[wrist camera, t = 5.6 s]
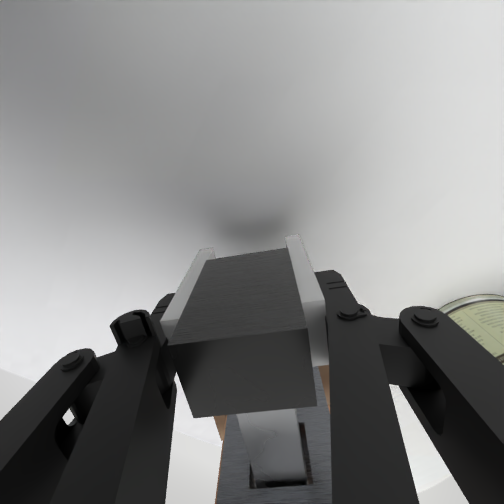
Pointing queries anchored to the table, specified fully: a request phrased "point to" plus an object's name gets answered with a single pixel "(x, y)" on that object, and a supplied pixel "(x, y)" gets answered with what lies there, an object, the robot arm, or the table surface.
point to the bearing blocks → (315, 453)
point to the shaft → (250, 358)
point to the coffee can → (481, 320)
